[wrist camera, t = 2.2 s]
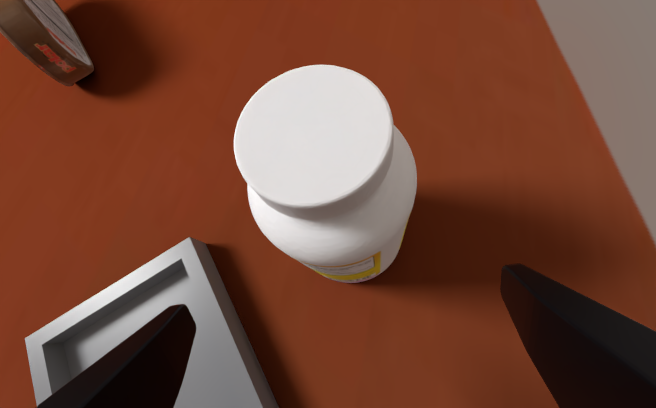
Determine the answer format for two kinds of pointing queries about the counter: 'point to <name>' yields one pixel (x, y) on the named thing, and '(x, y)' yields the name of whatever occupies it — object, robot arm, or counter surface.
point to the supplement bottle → (327, 171)
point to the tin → (45, 38)
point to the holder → (141, 307)
